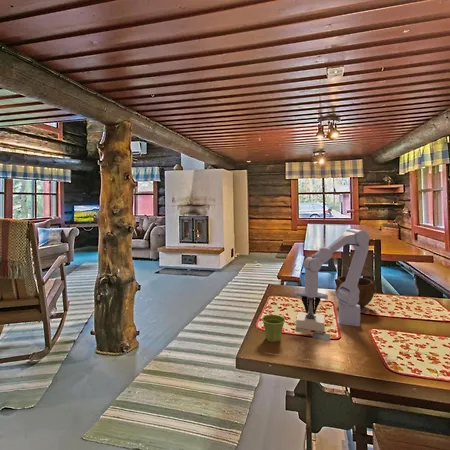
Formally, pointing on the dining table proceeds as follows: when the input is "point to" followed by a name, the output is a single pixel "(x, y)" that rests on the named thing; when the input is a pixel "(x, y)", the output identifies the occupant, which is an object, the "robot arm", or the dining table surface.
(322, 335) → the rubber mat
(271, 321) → the plant pot
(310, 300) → the steel pin
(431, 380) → the dining table surface
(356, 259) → the robot arm
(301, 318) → the block
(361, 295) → the bowl
